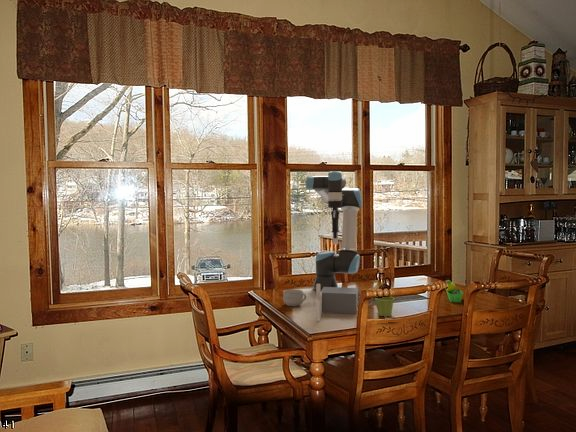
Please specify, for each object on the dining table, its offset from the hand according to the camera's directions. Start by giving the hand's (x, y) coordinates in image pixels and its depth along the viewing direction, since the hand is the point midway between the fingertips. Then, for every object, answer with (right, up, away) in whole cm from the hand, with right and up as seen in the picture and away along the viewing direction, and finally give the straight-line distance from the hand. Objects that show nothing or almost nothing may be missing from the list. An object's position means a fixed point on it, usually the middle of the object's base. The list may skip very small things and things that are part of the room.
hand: (335, 244), depth 250 cm
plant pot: (+22, -34, -23) cm, 46 cm away
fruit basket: (+66, -32, +6) cm, 73 cm away
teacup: (-22, -33, -2) cm, 40 cm away
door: (-10, -34, -24) cm, 43 cm away
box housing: (+1, -33, -10) cm, 35 cm away
